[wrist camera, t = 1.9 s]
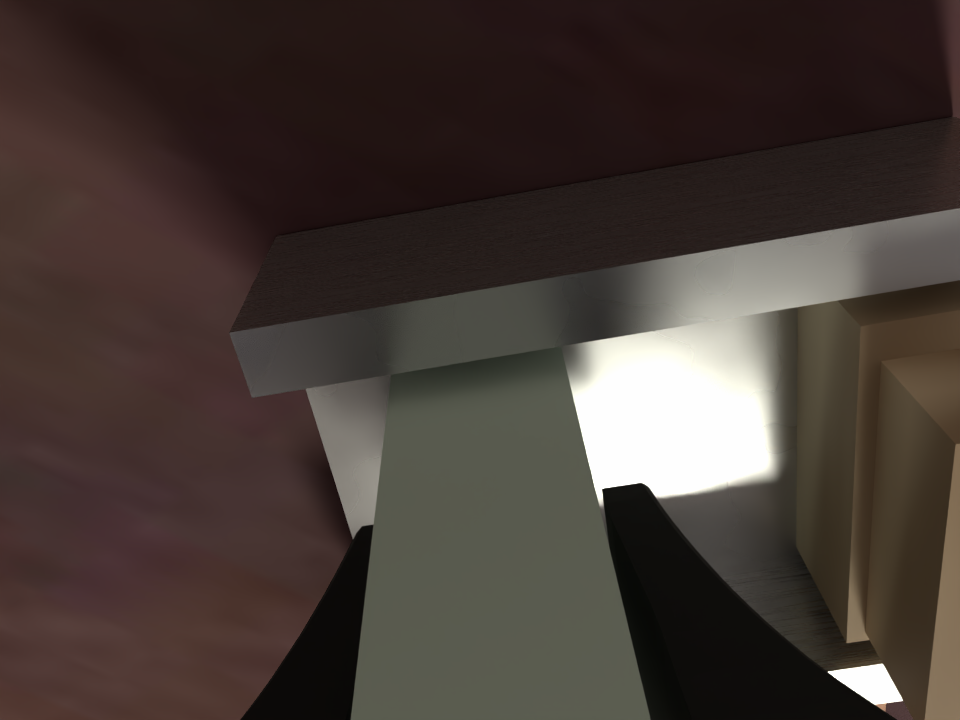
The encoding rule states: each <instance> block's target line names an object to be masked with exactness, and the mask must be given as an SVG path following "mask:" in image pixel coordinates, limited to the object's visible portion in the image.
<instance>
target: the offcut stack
mask: <svg viewBox="0 0 960 720" xmlns="http://www.w3.org/2000/svg"><path fill="white" fill-rule="evenodd" d="M796 547H797V549H798V551H799V553H800V555H801V557H802V559H803V561H804V563H805V564H806V566H807V568H808V570H809V572H810V574H811V576H812V578H813V580H814V582H815V584H816V586H817V587H818V589H819V591H820V593H821V595H822V597H823V599H824V601H825V603H826V605H827V607H828V609H829V611H830V612H831V614H832V616H833V618H834V620H835V622H836V624H837V626H838V628H839V630H840V632H841V634H842V635H843V637H844V639H845V641H846V643H852V642H859V641H866V640H870V642H871V643H872V645H873V647H874V649H875V651H876V652H877V654H878V656H879V658H880V660H881V661H882V663H883V665H884V667H885V669H886V670H887V672H888V674H889V676H890V678H891V680H892V681H893V683H894V685H895V687H896V689H897V690H898V692H899V694H900V696H901V698H902V699H903V701H904V703H905V705H906V707H907V708H908V710H909V712H910V714H911V716H912V717H913V719H914V720H960V280H958V281H952V282H946V283H940V284H934V285H928V286H922V287H916V288H910V289H904V290H898V291H892V292H886V293H879V294H873V295H867V296H861V297H855V298H849V299H843V300H837V301H831V302H825V303H819V304H813V305H807V306H801V307H798V328H797V513H796Z"/></svg>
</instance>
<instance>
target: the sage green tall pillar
mask: <svg viewBox="0 0 960 720" xmlns="http://www.w3.org/2000/svg"><path fill="white" fill-rule="evenodd" d="M351 720H651V719H650V715H649V711H648V707H647V703H646V698H645V694H644V690H643V686H642V682H641V678H640V673H639V669H638V665H637V661H636V657H635V653H634V648H633V644H632V640H631V636H630V632H629V628H628V623H627V619H626V615H625V611H624V607H623V603H622V598H621V594H620V590H619V586H618V582H617V578H616V573H615V569H614V565H613V561H612V557H611V553H610V548H609V544H608V540H607V536H606V532H605V528H604V523H603V519H602V515H601V511H600V507H599V503H598V498H597V494H596V490H595V486H594V482H593V478H592V473H591V469H590V465H589V461H588V457H587V453H586V448H585V444H584V440H583V436H582V432H581V428H580V423H579V419H578V415H577V411H576V407H575V403H574V398H573V394H572V390H571V386H570V382H569V378H568V373H567V369H566V365H565V361H564V357H563V353H562V348H561V346H560V347H554V348H548V349H542V350H536V351H530V352H524V353H518V354H512V355H506V356H500V357H494V358H488V359H482V360H476V361H470V362H464V363H458V364H452V365H446V366H440V367H434V368H428V369H422V370H416V371H410V372H404V373H398V374H392V375H391V380H390V389H389V397H388V406H387V414H386V423H385V431H384V440H383V448H382V457H381V465H380V474H379V483H378V491H377V500H376V508H375V517H374V525H373V534H372V542H371V551H370V559H369V568H368V576H367V585H366V593H365V602H364V611H363V619H362V628H361V636H360V645H359V653H358V662H357V670H356V679H355V687H354V696H353V704H352V713H351Z"/></svg>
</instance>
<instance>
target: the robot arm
mask: <svg viewBox="0 0 960 720" xmlns="http://www.w3.org/2000/svg"><path fill="white" fill-rule="evenodd" d="M602 495H603V502H604V510H605V518H606V525H607V533H608V541H609V548H610V553H611V557H612V561H613V565H614V569H615V573H616V578H617V582H618V586H619V590H620V594H621V598H622V603H623V607H624V611H625V615H626V619H627V623H628V628H629V632H630V636H631V640H632V644H633V648H634V653H635V657H636V661H637V665H638V669H639V673H640V678H641V682H642V686H643V690H644V694H645V698H646V703H647V707H648V711H649V715H650V719H651V720H897V719H895V718H894V717H892V716H891V715H889V714H888V713H886V712H885V711H883V710H882V709H880V708H879V707H878V706H876V705H875V704H873V703H872V702H870V701H869V700H867V699H866V698H864V697H863V696H861V695H860V694H858V693H857V692H855V691H854V690H852V689H851V688H850V687H848V686H847V685H845V684H844V683H842V682H841V681H839V680H838V679H837V678H835V677H834V676H832V675H831V674H830V673H829V672H827V671H826V670H825V669H823V668H822V667H821V666H820V665H818V664H817V663H816V662H814V661H813V660H812V659H810V658H809V657H808V656H807V655H805V654H804V653H803V652H802V651H800V650H799V649H798V648H797V647H796V646H794V645H793V644H792V643H791V642H790V641H788V640H787V639H786V638H785V637H784V636H782V635H781V634H780V633H779V632H778V631H777V630H775V629H774V628H773V627H772V626H771V625H770V624H769V623H768V622H766V621H765V620H764V619H763V618H762V617H761V616H760V615H759V614H758V613H757V612H756V611H755V610H754V609H752V608H751V607H750V606H749V605H748V604H747V603H746V602H745V601H744V600H743V599H742V598H741V597H740V596H739V595H738V594H737V593H736V592H735V591H734V590H733V589H732V588H731V587H730V586H729V585H728V584H727V583H726V582H725V581H724V580H723V579H722V578H721V577H720V576H719V574H718V573H717V572H716V571H715V570H714V569H713V568H712V567H711V566H710V564H709V563H708V562H707V561H706V560H705V559H704V558H703V557H702V556H701V555H700V553H699V552H698V551H697V550H696V549H695V548H694V547H693V545H692V544H691V543H690V542H689V541H688V539H687V538H686V537H685V536H684V535H683V533H682V532H681V531H680V530H679V528H678V527H677V526H676V525H675V523H674V522H673V521H672V519H671V518H670V517H669V515H668V514H667V513H666V511H665V510H664V509H663V507H662V506H661V504H660V503H659V501H658V500H657V498H656V497H655V495H654V494H653V492H652V490H651V489H650V487H648V486H647V485H645V484H644V483H642V482H641V483H635V484H628V485H622V486H615V487H609V488H603V489H602ZM373 525H374V524H373ZM373 525H366V526H362V527H361V528H360V529H359V530H358V532H357V533H356V535H355V537H354V539H353V541H352V543H351V545H350V547H349V549H348V551H347V553H346V555H345V556H344V558H343V560H342V562H341V564H340V566H339V568H338V570H337V572H336V574H335V575H334V577H333V579H332V581H331V583H330V585H329V586H328V588H327V590H326V592H325V594H324V595H323V597H322V599H321V600H320V602H319V604H318V606H317V607H316V609H315V611H314V612H313V614H312V616H311V617H310V619H309V621H308V623H307V624H306V626H305V628H304V629H303V631H302V633H301V634H300V636H299V637H298V639H297V640H296V642H295V643H294V645H293V646H292V648H291V649H290V651H289V652H288V654H287V655H286V657H285V659H284V660H283V662H282V663H281V665H280V666H279V668H278V669H277V671H276V672H275V674H274V675H273V677H272V678H271V679H270V681H269V682H268V684H267V685H266V686H265V688H264V689H263V691H262V692H261V693H260V695H259V696H258V697H257V699H256V700H255V701H254V703H253V704H252V705H251V707H250V708H249V709H248V711H247V712H246V713H245V714H244V716H243V717H242V718H241V720H351V713H352V704H353V696H354V687H355V679H356V670H357V662H358V653H359V645H360V636H361V628H362V619H363V611H364V602H365V593H366V585H367V576H368V568H369V559H370V551H371V542H372V534H373Z"/></svg>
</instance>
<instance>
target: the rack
mask: <svg viewBox="0 0 960 720" xmlns="http://www.w3.org/2000/svg"><path fill="white" fill-rule="evenodd" d="M958 280H960V119H959V118H957V117H949V118H944V119H938V120H932V121H927V122H921V123H915V124H910V125H904V126H898V127H893V128H887V129H881V130H876V131H870V132H864V133H859V134H853V135H847V136H841V137H836V138H830V139H824V140H819V141H813V142H807V143H802V144H796V145H790V146H785V147H779V148H773V149H768V150H762V151H756V152H751V153H745V154H739V155H734V156H728V157H722V158H717V159H711V160H705V161H700V162H694V163H688V164H683V165H677V166H671V167H666V168H660V169H654V170H649V171H643V172H637V173H632V174H626V175H620V176H614V177H609V178H603V179H597V180H592V181H586V182H580V183H575V184H569V185H563V186H558V187H552V188H546V189H541V190H535V191H529V192H524V193H518V194H512V195H507V196H501V197H495V198H490V199H484V200H478V201H473V202H467V203H461V204H456V205H450V206H444V207H439V208H433V209H427V210H422V211H416V212H410V213H405V214H399V215H393V216H388V217H382V218H376V219H370V220H365V221H359V222H353V223H348V224H342V225H336V226H331V227H325V228H319V229H314V230H308V231H302V232H297V233H291V234H285V235H280V236H276V238H275V240H274V242H273V244H272V246H271V248H270V250H269V252H268V254H267V256H266V258H265V260H264V262H263V264H262V266H261V268H260V271H259V273H258V275H257V277H256V279H255V281H254V283H253V285H252V287H251V289H250V291H249V293H248V295H247V297H246V299H245V301H244V303H243V306H242V308H241V310H240V312H239V314H238V316H237V318H236V320H235V322H234V324H233V326H232V328H231V330H230V332H229V333H230V336H231V339H232V342H233V345H234V348H235V350H236V353H237V356H238V359H239V362H240V365H241V367H242V370H243V373H244V376H245V379H246V382H247V385H248V387H249V390H250V393H251V396H252V398H253V397H259V396H265V395H271V394H277V393H283V392H289V391H295V390H301V389H306V391H307V395H308V398H309V401H310V404H311V407H312V410H313V414H314V417H315V420H316V423H317V426H318V430H319V433H320V436H321V439H322V442H323V445H324V449H325V452H326V455H327V458H328V461H329V465H330V468H331V471H332V474H333V477H334V481H335V484H336V487H337V490H338V493H339V496H340V500H341V503H342V506H343V509H344V512H345V516H346V519H347V522H348V525H349V528H350V531H351V535H352V538H353V539H354V537H355V535H356V533H357V532H358V530H359V529H360V528H361V527H362V526H366V525H373V524H374V517H375V508H376V500H377V491H378V483H379V474H380V465H381V457H382V448H383V440H384V431H385V423H386V414H387V406H388V397H389V389H390V380H391V375H392V374H398V373H404V372H410V371H416V370H422V369H428V368H434V367H440V366H446V365H452V364H458V363H464V362H470V361H476V360H482V359H488V358H494V357H500V356H506V355H512V354H518V353H524V352H530V351H536V350H542V349H548V348H554V347H560V346H561V348H562V353H563V357H564V361H565V365H566V369H567V373H568V378H569V382H570V386H571V390H572V394H573V398H574V403H575V407H576V411H577V415H578V419H579V423H580V428H581V432H582V436H583V440H584V444H585V448H586V453H587V457H588V461H589V465H590V469H591V473H592V478H593V482H594V486H595V490H596V494H597V498H598V503H599V507H600V511H601V515H602V519H603V523H604V528H605V532H606V536H607V540H608V533H607V525H606V518H605V510H604V502H603V495H602V489H603V488H609V487H615V486H622V485H628V484H635V483H641V482H642V483H644V484H645V485H647V486H648V487H650V489H651V490H652V492H653V494H654V495H655V497H656V498H657V500H658V501H659V503H660V504H661V506H662V507H663V509H664V510H665V511H666V513H667V514H668V515H669V517H670V518H671V519H672V521H673V522H674V523H675V525H676V526H677V527H678V528H679V530H680V531H681V532H682V533H683V535H684V536H685V537H686V538H687V539H688V541H689V542H690V543H691V544H692V545H693V547H694V548H695V549H696V550H697V551H698V552H699V553H700V555H701V556H702V557H703V558H704V559H705V560H706V561H707V562H708V563H709V564H710V566H711V567H712V568H713V569H714V570H715V571H716V572H717V573H718V574H719V576H720V577H721V578H722V579H723V580H724V581H725V582H726V583H727V584H728V585H729V586H730V587H731V588H732V589H733V590H734V591H735V592H736V593H737V594H738V595H739V596H740V597H741V598H742V599H743V600H744V601H745V602H746V603H747V604H748V605H749V606H750V607H751V608H752V609H754V610H755V611H756V612H757V613H758V614H759V615H760V616H761V617H762V618H763V619H764V620H765V621H766V622H768V623H769V624H770V625H771V626H772V627H773V628H774V629H775V630H777V631H778V632H779V633H780V634H781V635H782V636H784V637H785V638H786V639H787V640H788V641H790V642H791V643H792V644H793V645H794V646H796V647H797V648H798V649H799V650H800V651H802V652H803V653H804V654H805V655H807V656H808V657H809V658H810V659H812V660H813V661H814V662H816V663H817V664H818V665H820V666H821V667H822V668H823V669H825V670H826V671H827V672H829V673H830V674H831V675H832V676H834V677H835V678H837V679H838V680H839V681H841V682H842V683H844V684H845V685H847V686H848V687H850V688H851V689H852V690H854V691H855V692H857V693H858V694H860V695H861V696H863V697H864V698H866V699H867V700H869V701H870V702H872V703H873V704H882V703H890V702H897V701H903V699H902V698H901V696H900V694H899V692H898V690H897V689H896V687H895V685H894V683H893V681H892V680H891V678H890V676H889V674H888V672H887V670H886V669H885V667H884V665H883V663H882V661H881V660H880V658H879V656H878V654H877V652H876V651H875V649H874V647H873V645H872V643H871V642H870V640H866V641H859V642H852V643H846V641H845V639H844V637H843V635H842V634H841V632H840V630H839V628H838V626H837V624H836V622H835V620H834V618H833V616H832V614H831V612H830V611H829V609H828V607H827V605H826V603H825V601H824V599H823V597H822V595H821V593H820V591H819V589H818V587H817V586H816V584H815V582H814V580H813V578H812V576H811V574H810V572H809V570H808V568H807V566H806V564H805V563H804V561H803V559H802V557H801V555H800V553H799V551H798V549H797V547H796V513H797V328H798V307H801V306H807V305H813V304H819V303H825V302H831V301H837V300H843V299H849V298H855V297H861V296H867V295H873V294H879V293H886V292H892V291H898V290H904V289H910V288H916V287H922V286H928V285H934V284H940V283H946V282H952V281H958ZM608 544H609V541H608Z"/></svg>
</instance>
